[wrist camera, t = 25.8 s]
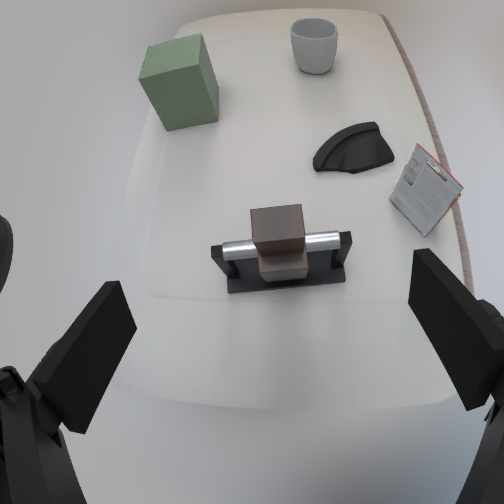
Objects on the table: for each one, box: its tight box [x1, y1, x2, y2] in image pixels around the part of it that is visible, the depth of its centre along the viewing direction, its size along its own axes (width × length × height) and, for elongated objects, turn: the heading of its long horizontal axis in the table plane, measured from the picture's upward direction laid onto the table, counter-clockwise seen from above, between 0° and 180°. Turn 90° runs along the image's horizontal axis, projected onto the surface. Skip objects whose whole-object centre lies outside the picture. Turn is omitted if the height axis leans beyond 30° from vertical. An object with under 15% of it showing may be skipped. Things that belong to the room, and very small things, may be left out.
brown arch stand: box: [250, 204, 308, 282], centre depth 34 cm, size 5×6×14 cm
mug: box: [291, 18, 338, 74], centre depth 53 cm, size 13×9×10 cm
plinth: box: [139, 33, 219, 131], centre depth 51 cm, size 10×10×14 cm
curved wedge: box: [313, 122, 395, 174], centre depth 48 cm, size 8×14×2 cm, turn 106°
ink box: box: [390, 143, 463, 237], centre depth 37 cm, size 4×8×15 cm, turn 37°
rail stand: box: [211, 231, 352, 293], centre depth 39 cm, size 16×5×11 cm, turn 94°
